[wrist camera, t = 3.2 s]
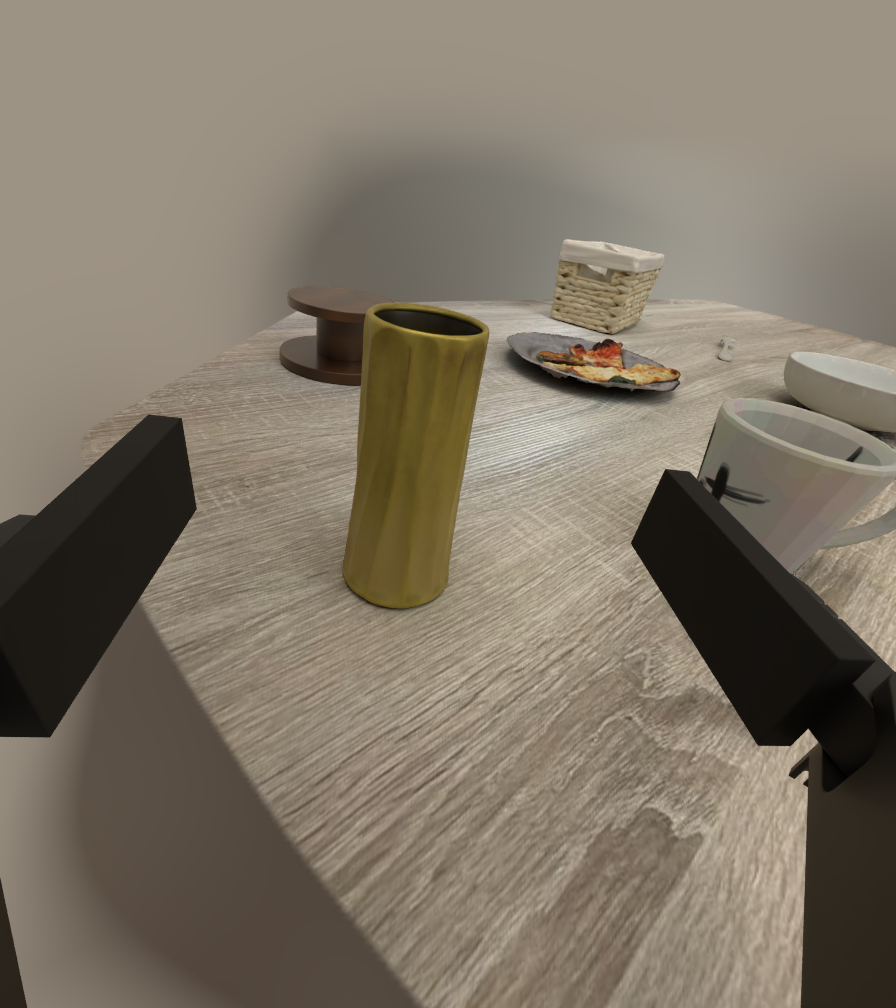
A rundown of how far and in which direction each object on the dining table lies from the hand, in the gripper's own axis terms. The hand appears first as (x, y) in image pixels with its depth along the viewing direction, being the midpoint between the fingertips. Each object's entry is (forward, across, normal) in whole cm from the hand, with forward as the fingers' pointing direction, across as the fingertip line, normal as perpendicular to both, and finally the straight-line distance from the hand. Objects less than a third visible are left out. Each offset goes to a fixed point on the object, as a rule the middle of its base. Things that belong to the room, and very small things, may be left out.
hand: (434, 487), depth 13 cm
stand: (+45, -7, -12) cm, 47 cm away
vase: (+10, 0, -12) cm, 15 cm away
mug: (+14, +27, -12) cm, 33 cm away
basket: (+96, +42, -12) cm, 105 cm away
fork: (+85, +68, -12) cm, 110 cm away
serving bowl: (+50, +66, -12) cm, 83 cm away
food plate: (+56, +27, -12) cm, 63 cm away
